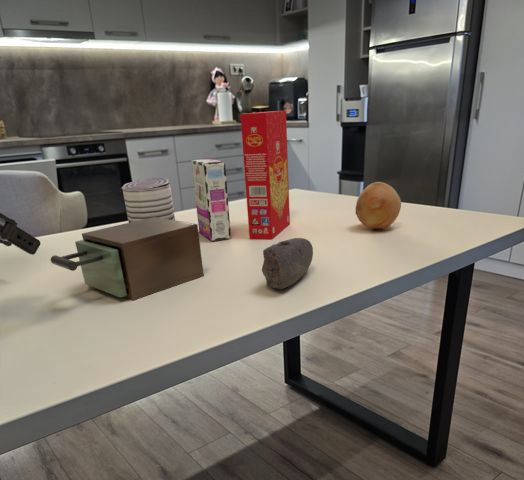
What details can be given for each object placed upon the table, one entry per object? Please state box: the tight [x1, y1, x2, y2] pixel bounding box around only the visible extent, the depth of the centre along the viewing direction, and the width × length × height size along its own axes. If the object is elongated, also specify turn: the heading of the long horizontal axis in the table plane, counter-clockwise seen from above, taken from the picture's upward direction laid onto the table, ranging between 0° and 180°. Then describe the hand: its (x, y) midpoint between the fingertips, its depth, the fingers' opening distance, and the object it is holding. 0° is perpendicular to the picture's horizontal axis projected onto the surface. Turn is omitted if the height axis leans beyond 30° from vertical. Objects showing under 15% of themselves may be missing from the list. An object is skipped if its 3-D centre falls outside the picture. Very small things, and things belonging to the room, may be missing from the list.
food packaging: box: [239, 110, 291, 240], centre depth 107 cm, size 15×5×25 cm, turn 162°
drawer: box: [50, 239, 128, 298], centre depth 79 cm, size 19×11×7 cm, turn 136°
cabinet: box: [81, 217, 205, 301], centre depth 82 cm, size 15×13×9 cm
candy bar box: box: [190, 158, 232, 242], centre depth 108 cm, size 11×5×16 cm, turn 22°
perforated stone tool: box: [261, 237, 314, 290], centre depth 78 cm, size 15×5×7 cm, turn 149°
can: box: [121, 177, 176, 223], centre depth 116 cm, size 11×11×12 cm
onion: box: [355, 181, 402, 229], centre depth 106 cm, size 10×10×10 cm
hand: (24, 244), depth 68 cm, fingers open, 8 cm apart
